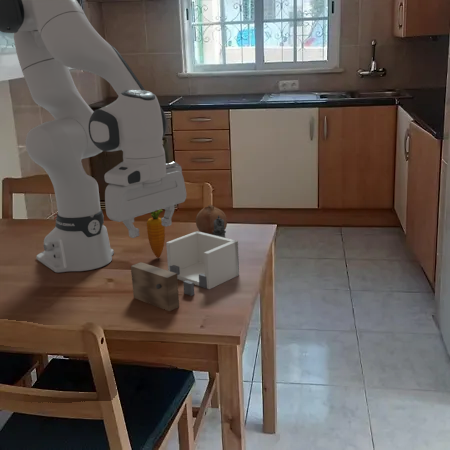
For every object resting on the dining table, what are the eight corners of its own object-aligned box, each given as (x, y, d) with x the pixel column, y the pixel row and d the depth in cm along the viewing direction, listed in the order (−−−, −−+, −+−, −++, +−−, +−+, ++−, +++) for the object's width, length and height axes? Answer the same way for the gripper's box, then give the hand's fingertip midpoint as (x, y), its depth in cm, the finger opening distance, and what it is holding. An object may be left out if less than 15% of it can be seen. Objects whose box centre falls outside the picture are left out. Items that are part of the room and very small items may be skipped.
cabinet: (152, 282, 144) (150, 248, 141) (198, 263, 155) (196, 231, 152) (193, 296, 135) (191, 260, 132) (239, 274, 146) (237, 240, 144)
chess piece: (230, 253, 161) (229, 211, 158) (231, 261, 156) (230, 218, 152) (209, 254, 161) (207, 213, 158) (209, 262, 156) (207, 219, 152)
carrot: (164, 253, 163) (160, 201, 159) (169, 259, 159) (165, 206, 154) (147, 256, 162) (142, 204, 157) (151, 262, 157) (147, 208, 153)
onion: (198, 232, 181) (196, 201, 178) (228, 231, 180) (227, 200, 177) (195, 242, 172) (193, 209, 169) (227, 241, 171) (225, 208, 168)
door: (131, 299, 135) (128, 266, 133) (143, 293, 138) (140, 262, 135) (167, 312, 127) (164, 278, 125) (179, 306, 130) (177, 273, 128)
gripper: (170, 159, 133) (175, 217, 137) (97, 176, 118) (105, 240, 122) (190, 161, 129) (194, 221, 133) (117, 179, 114) (124, 246, 118)
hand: (151, 231), depth 128 cm, fingers open, 8 cm apart
